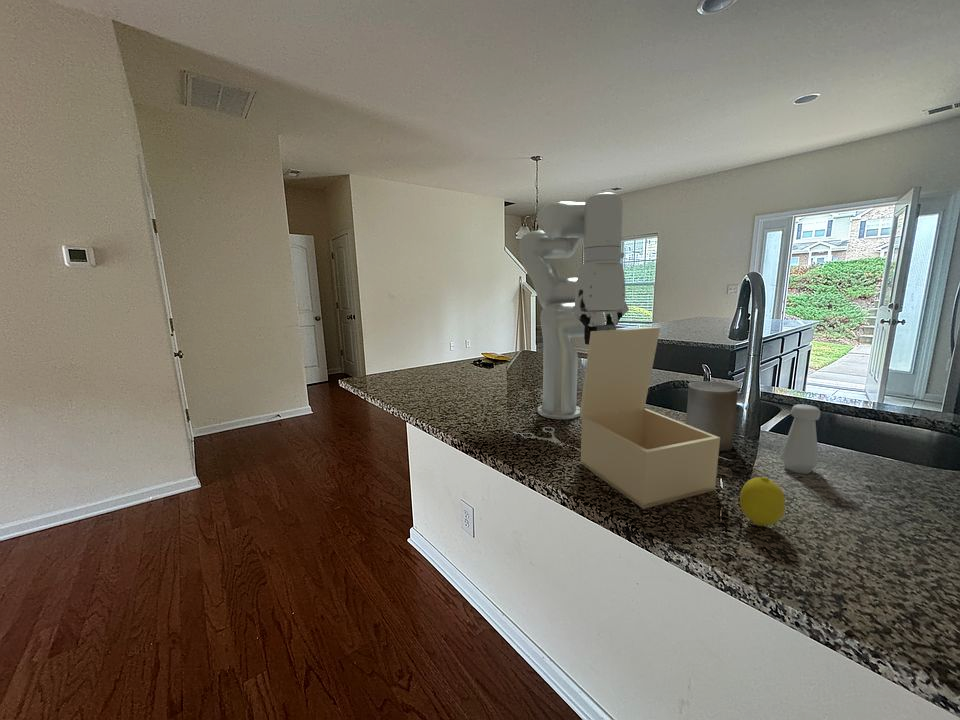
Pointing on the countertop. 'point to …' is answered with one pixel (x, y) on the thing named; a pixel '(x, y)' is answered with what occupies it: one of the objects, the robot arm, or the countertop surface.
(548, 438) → the scissors
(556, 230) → the robot arm
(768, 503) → the lemon
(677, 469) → the carton
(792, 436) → the salt shaker
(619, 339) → the carton flap
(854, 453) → the countertop surface
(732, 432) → the pillar candle
